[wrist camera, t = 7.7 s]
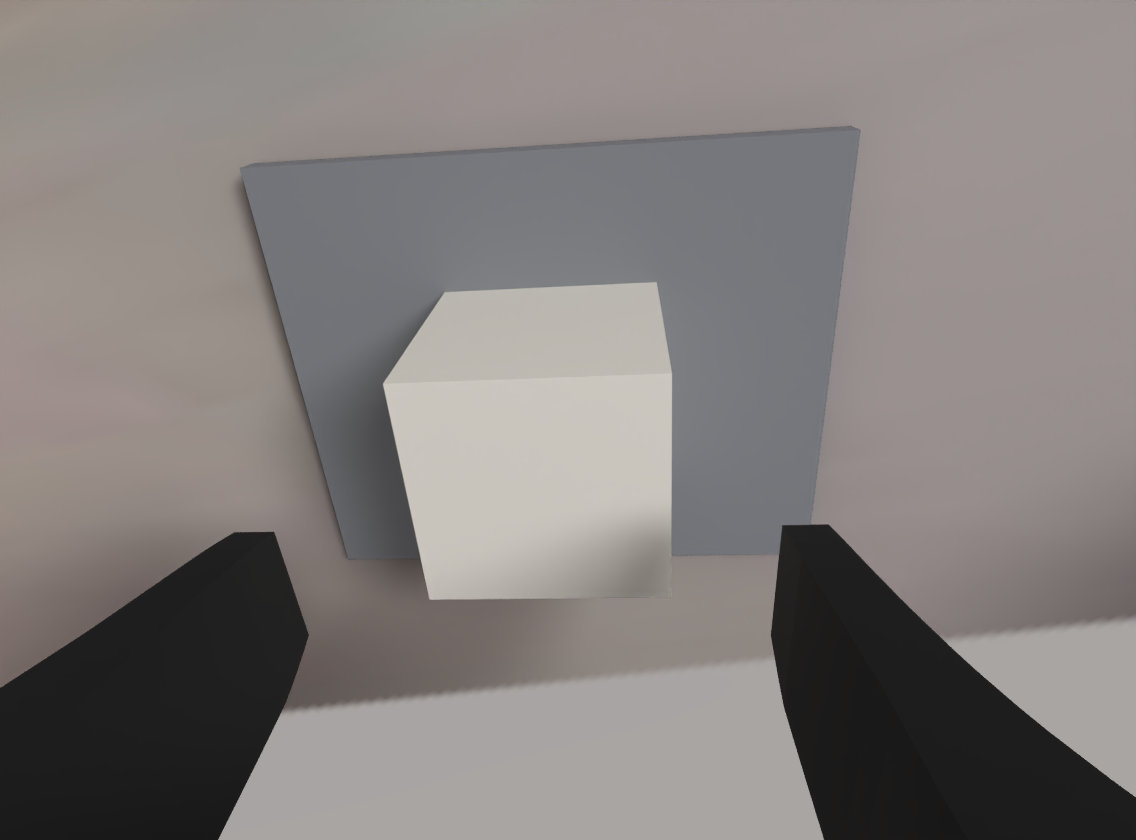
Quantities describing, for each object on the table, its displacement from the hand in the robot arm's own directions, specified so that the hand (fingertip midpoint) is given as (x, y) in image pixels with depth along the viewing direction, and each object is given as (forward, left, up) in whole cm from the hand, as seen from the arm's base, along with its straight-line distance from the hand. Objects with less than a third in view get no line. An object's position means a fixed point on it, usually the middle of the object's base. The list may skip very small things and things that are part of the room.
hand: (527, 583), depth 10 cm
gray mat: (0, 0, -7) cm, 7 cm away
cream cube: (0, 0, -7) cm, 7 cm away
